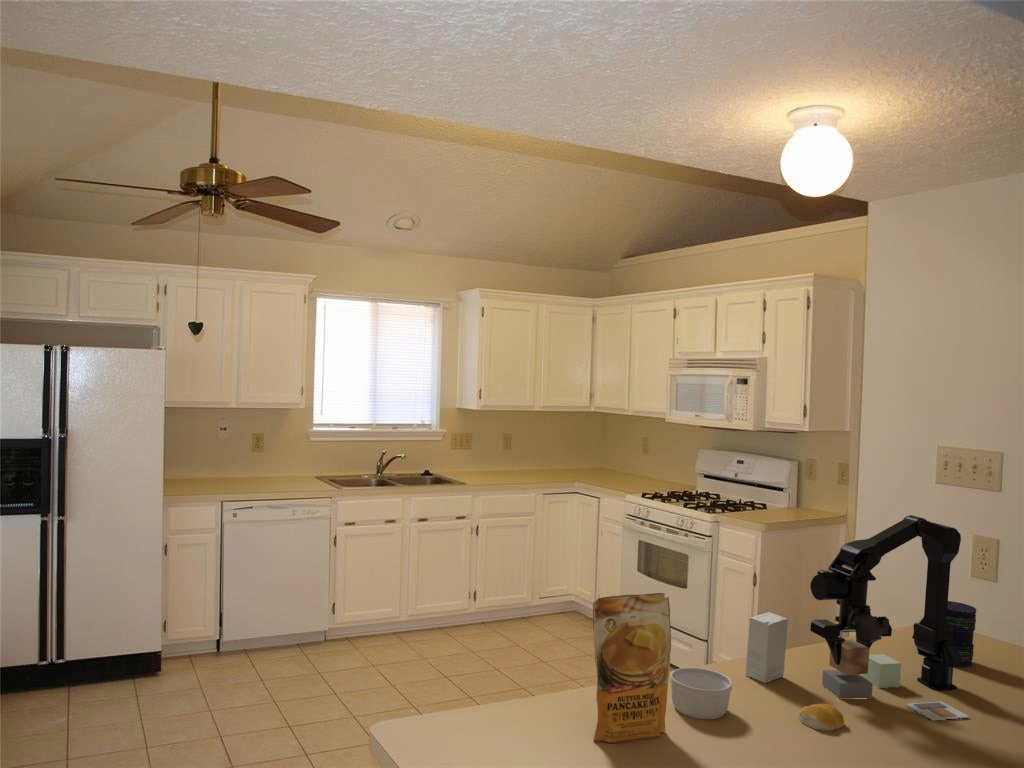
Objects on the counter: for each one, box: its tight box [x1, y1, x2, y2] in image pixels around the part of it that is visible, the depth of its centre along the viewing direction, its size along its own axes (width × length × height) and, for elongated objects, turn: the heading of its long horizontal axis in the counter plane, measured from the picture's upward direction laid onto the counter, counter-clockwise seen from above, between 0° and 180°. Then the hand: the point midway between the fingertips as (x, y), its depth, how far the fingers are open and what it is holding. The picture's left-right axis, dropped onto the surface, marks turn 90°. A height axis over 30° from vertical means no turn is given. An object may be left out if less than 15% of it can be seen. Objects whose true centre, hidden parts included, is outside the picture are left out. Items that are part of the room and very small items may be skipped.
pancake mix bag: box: [592, 592, 672, 744], centre depth 165 cm, size 7×19×28 cm, turn 111°
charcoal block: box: [821, 669, 874, 700], centre depth 195 cm, size 8×8×4 cm
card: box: [905, 701, 970, 721], centre depth 186 cm, size 10×8×1 cm
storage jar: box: [947, 600, 977, 669], centre depth 221 cm, size 10×10×15 cm
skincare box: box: [745, 611, 789, 684], centre depth 201 cm, size 8×6×15 cm
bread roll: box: [798, 703, 845, 732], centre depth 177 cm, size 8×9×4 cm
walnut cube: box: [829, 639, 871, 675], centre depth 195 cm, size 6×6×6 cm
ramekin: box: [669, 666, 733, 720], centre depth 180 cm, size 13×13×7 cm
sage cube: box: [861, 653, 902, 689], centre depth 202 cm, size 6×6×6 cm
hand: (848, 663), depth 195 cm, fingers closed on walnut cube, 6 cm apart
